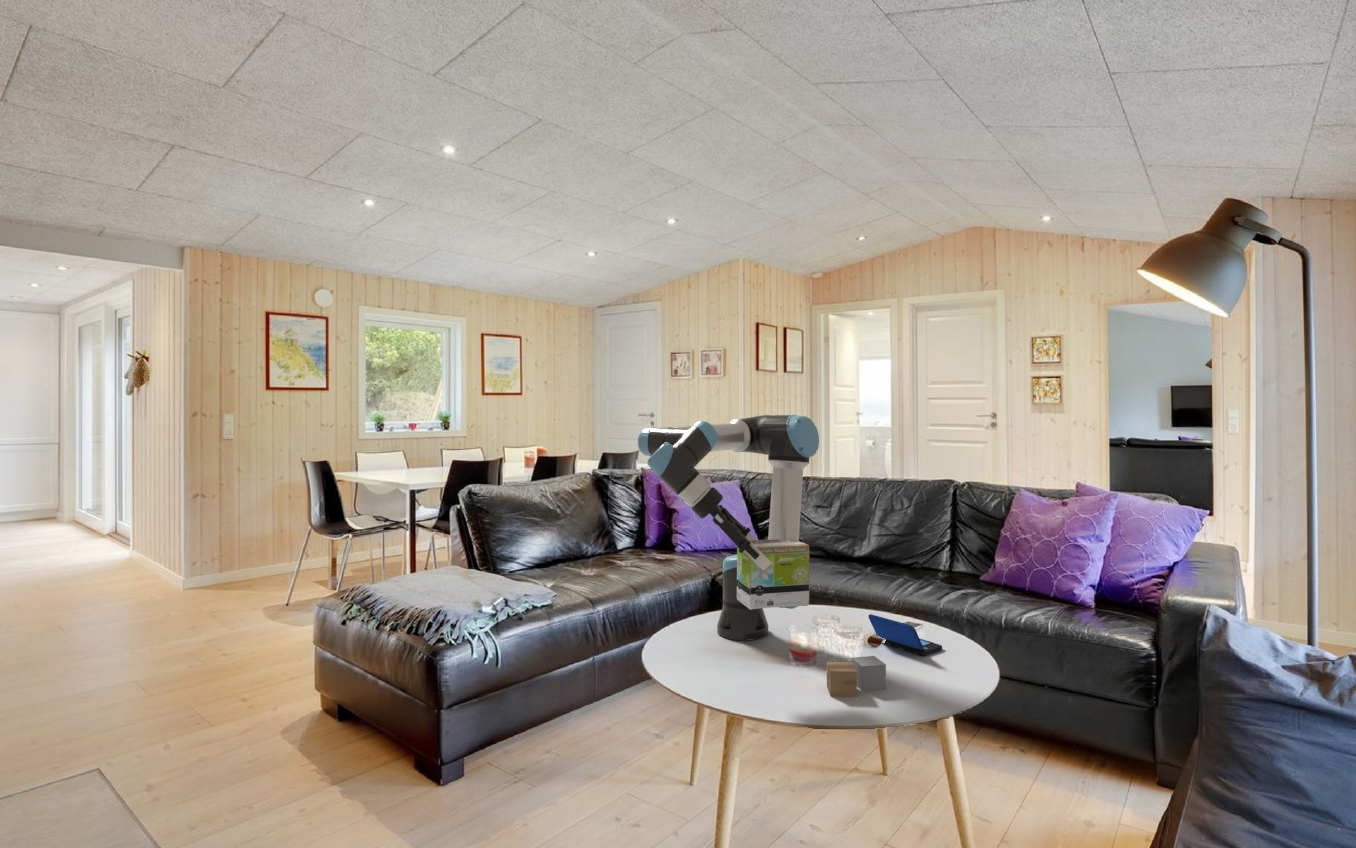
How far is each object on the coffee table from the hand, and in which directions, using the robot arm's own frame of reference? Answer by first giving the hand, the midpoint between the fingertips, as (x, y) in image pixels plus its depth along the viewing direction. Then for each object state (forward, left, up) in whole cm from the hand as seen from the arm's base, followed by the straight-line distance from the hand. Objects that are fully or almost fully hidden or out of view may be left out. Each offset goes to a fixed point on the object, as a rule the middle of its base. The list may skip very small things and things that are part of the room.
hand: (766, 561), depth 172 cm
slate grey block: (-2, +24, -30) cm, 39 cm away
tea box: (-1, +2, -11) cm, 11 cm away
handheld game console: (-30, +40, -31) cm, 59 cm away
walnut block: (+2, +17, -30) cm, 35 cm away
